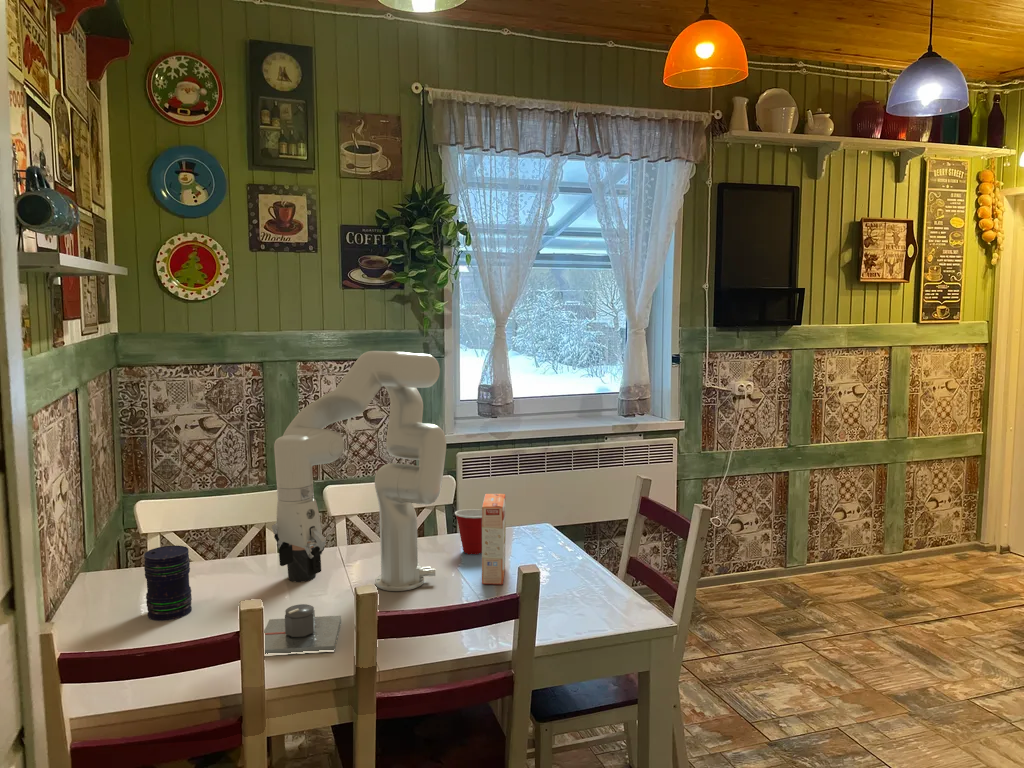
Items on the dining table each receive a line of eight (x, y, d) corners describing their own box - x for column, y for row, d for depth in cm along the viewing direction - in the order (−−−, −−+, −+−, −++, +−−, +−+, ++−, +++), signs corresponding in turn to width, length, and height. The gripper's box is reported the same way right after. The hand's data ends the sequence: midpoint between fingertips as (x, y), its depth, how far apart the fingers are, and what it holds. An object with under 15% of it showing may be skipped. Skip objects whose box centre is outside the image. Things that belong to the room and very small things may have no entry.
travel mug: (306, 583, 207) (303, 509, 205) (281, 580, 210) (278, 506, 207) (322, 574, 214) (319, 501, 212) (298, 571, 217) (295, 499, 214)
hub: (341, 621, 183) (340, 600, 182) (334, 652, 167) (333, 629, 167) (269, 625, 181) (268, 604, 180) (255, 657, 165) (254, 634, 165)
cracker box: (504, 585, 205) (503, 506, 203) (481, 585, 205) (480, 506, 203) (506, 566, 219) (506, 492, 217) (484, 566, 219) (484, 492, 217)
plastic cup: (497, 547, 235) (497, 508, 234) (483, 559, 225) (483, 518, 224) (464, 544, 239) (463, 505, 238) (448, 555, 229) (448, 514, 228)
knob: (303, 622, 178) (302, 600, 177) (320, 629, 174) (319, 607, 174) (280, 631, 173) (279, 609, 173) (297, 639, 170) (296, 616, 169)
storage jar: (196, 603, 194) (193, 544, 193) (187, 619, 185) (183, 557, 183) (153, 606, 193) (149, 546, 191) (141, 622, 183) (137, 560, 182)
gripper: (335, 494, 168) (339, 572, 171) (285, 482, 179) (290, 555, 181) (306, 503, 162) (311, 583, 165) (256, 490, 173) (261, 565, 175)
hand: (300, 568), depth 173 cm, fingers open, 9 cm apart
